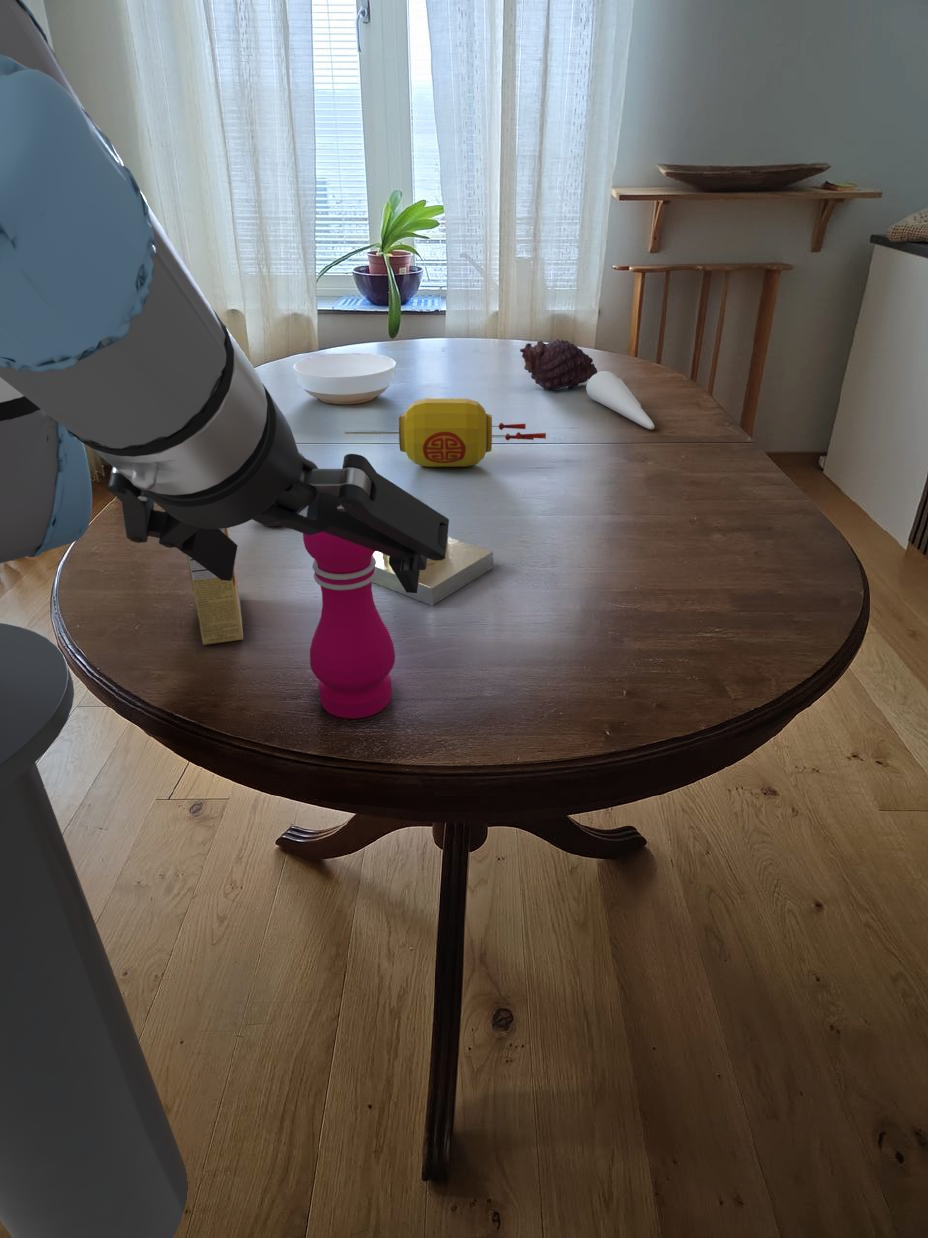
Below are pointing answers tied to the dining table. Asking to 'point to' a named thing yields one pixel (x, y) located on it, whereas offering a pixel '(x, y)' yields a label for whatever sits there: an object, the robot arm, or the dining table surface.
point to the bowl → (345, 376)
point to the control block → (439, 571)
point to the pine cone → (557, 364)
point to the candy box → (216, 603)
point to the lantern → (448, 432)
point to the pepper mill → (349, 630)
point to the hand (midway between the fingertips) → (320, 568)
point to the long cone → (617, 397)
